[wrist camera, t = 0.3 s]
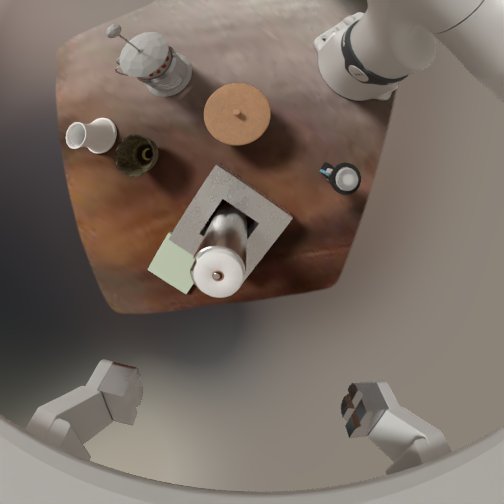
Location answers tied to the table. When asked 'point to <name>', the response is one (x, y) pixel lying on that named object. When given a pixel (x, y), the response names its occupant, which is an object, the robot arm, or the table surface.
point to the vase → (92, 135)
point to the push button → (342, 177)
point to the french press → (153, 62)
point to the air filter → (222, 254)
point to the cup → (135, 155)
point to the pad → (173, 265)
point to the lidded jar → (237, 114)
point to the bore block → (243, 198)
